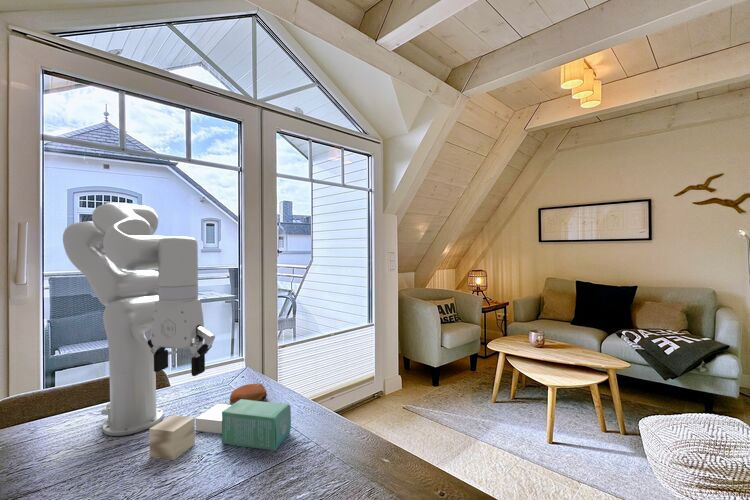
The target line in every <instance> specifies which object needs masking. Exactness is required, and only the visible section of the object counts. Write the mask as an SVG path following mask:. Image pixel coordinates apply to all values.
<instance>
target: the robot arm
mask: <svg viewBox="0 0 750 500" xmlns="http://www.w3.org/2000/svg"><path fill="white" fill-rule="evenodd" d="M91 220H92V221H80V222H75V223H72V224H70V225H68V226H67V227H65V229H64V230H63V233H62V244H63V248H64V252H65V255H66V256H67V258H68V259H69V261H70V262H71V264H72V265H73V266H74V267H75V268H76V269H77V270H78V271H79V272H80V273H81V274H83V276H84V277H85V279H86V281H87V282H88V284H89V285H90V288H91V289H92V291H93V293H94V294H95V296H96V298H97V299H98V300H99V302H100V304H102V305H103V306H104V307H105V309H104V311H103V313H102V321H103V325H104V330H105V334H106V339H107V344H108V345H107V347H108V364H109V365H108V367H109V402H108V404H107V405H106V407H105V408H103V409H101V415H105V416H107V421H106V422H104V424H103V426H102V433H103V434H105V435H107V436H111V437H119V436H121V437H122V436H126V435H127V436H128V435H132V434H137V433H140V432H143V431H145V430H147V429H148V430H149V429H150V428H151V427H153V426H155V425H156V424H158V423H160V422H161V421H163V420H164V419H163V418H164V415H165V414H164V413H165V412H164V410H163V409H161V408H159V407H157V382H156V381H157V380H156V379H157V377H156V373H158V372H160V371H163V370H166V369H167V368H169V350H168V349H175V350H187V349H189V350H190V352H191V354H192V355H193V357H191V359H190V360H191V363H190V365H191V366H190V367H191V373H190V374H191V376H192V377H197V376H198V375H200V374H201V375H202V373H204V372H205V371H206V369H205V368H206V367H205V366H206V365H205V364H206V355H207V354H208V352H209V351H210V349H212V347H213V343H214V341H215V339H216V336H215V334H213V333H212V332H210V331H209V330H208V329H206V328H205V323H204V312H203V308H202V303H201V299H200V298H199V268H198V266H199V265H198V263H199V261H198V260H199V255H198V252H199V251H198V246H199V245H198V241H197V240H196V238H194V237H190V236H170V235H169V236H168V235H167V236H165V235H154V234H155V233H156V232H157V229H158V226H159V217H158V214H157V213H156V211H155V210H154V209H153V207H152V208H151V207H150V206H148V205H147V206H146V205H140V204H129V203H121V202H120V203H119V202H107V203H103V204H101V205H98V206H96V207H95V209H94V210H93V211H92V213H91ZM156 270H157V271H156Z"/></svg>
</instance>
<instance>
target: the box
mask: <svg viewBox="0 0 750 500" xmlns="http://www.w3.org/2000/svg"><path fill="white" fill-rule="evenodd" d="M291 410H292V409H291V405H290V404H289V403H279V402H269V401H264V402H262V401H252V400H244V399H240V400H239V401H237V402H236V403H234V404H233V405H231V406H230V407H228V408H227V409H225V410H224V411H222V434H221V444H223V445H231V446H237V447H244V448H245V447H246V448H254V449H259V450H267V451H268V450H269V451H273V452H276V450H277V449H278V448H279V447H280V446H281V444H282V443H283V442H284V441H285V440H286V439H287V437H288V436H289V435H290V434H291V427H292V415H291V414H292V412H291Z"/></svg>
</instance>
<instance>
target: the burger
mask: <svg viewBox="0 0 750 500" xmlns="http://www.w3.org/2000/svg"><path fill="white" fill-rule="evenodd" d="M267 397H268V393H267V389H266V388H265V386H263V384H261V383H249V384H244V385H241V386H238V387H237V388H235V389H233V391H232V392H231V393H230V396H229V405H233V404H234V403H236V402H237V401H239V400H240V399H244V400H252V401H262V402H266V399H267Z"/></svg>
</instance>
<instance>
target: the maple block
mask: <svg viewBox="0 0 750 500" xmlns="http://www.w3.org/2000/svg"><path fill="white" fill-rule="evenodd" d="M148 430H149V433H148V434H149V436H148V437H149V439H148V440H149V458H156V459H164V460H171V461H175V460H176V459H178V458H179V457H180V456H182V455H183V454H184V453H186V451H188V450H189V449H191V448H192V447H193V446H195V445H196V433H195V431H196V419H195V417H191V416H182V415H173V414H172V415H170V416H168V417H166V418H165V419H162V420H161V421H160V422H159V423H157V424H156V425H154V426H152V427H150V428H148Z"/></svg>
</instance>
